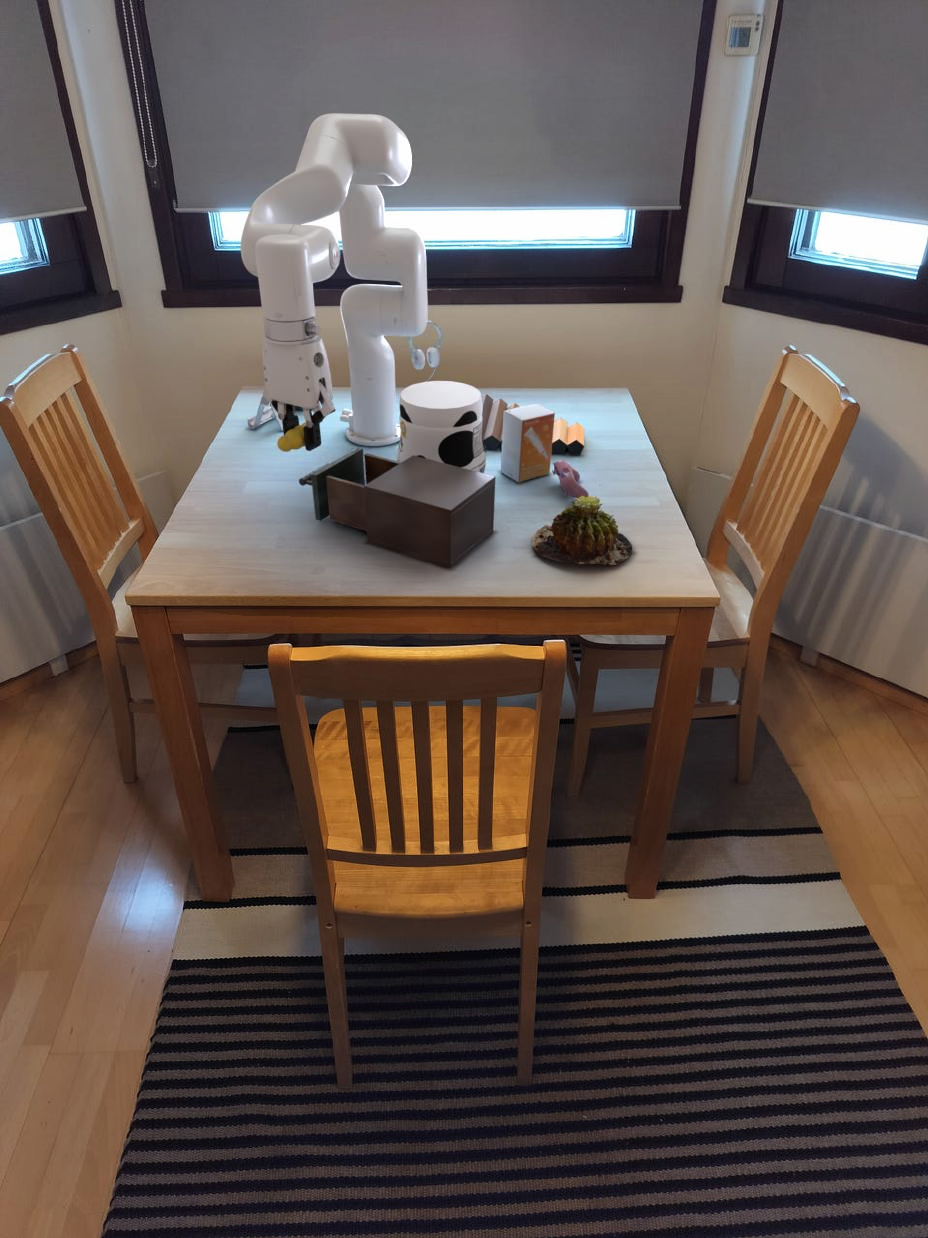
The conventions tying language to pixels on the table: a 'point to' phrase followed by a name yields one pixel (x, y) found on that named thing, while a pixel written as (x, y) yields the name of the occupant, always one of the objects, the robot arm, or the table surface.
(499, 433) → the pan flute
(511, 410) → the small box
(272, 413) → the tablet stand
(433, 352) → the headphones
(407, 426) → the milk container
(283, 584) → the table surface
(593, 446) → the table surface
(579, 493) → the video game controller
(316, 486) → the drawer
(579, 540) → the cactus
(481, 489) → the cabinet
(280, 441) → the yellow caterpillar toy
